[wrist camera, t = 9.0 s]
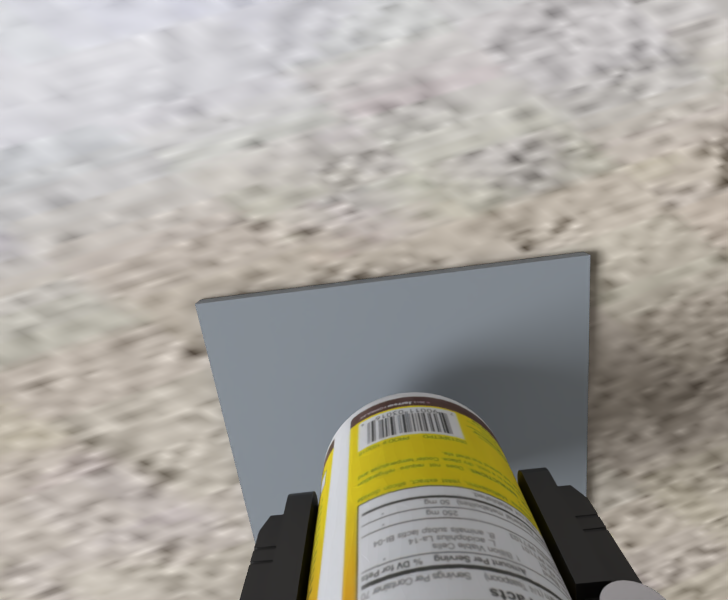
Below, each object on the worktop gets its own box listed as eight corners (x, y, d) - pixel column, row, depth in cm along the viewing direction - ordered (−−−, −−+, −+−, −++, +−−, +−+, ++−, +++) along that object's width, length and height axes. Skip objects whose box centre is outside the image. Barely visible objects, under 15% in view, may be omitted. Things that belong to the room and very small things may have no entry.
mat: (262, 551, 19) (259, 561, 19) (200, 299, 16) (194, 304, 15) (580, 519, 19) (585, 528, 18) (583, 251, 15) (590, 255, 15)
